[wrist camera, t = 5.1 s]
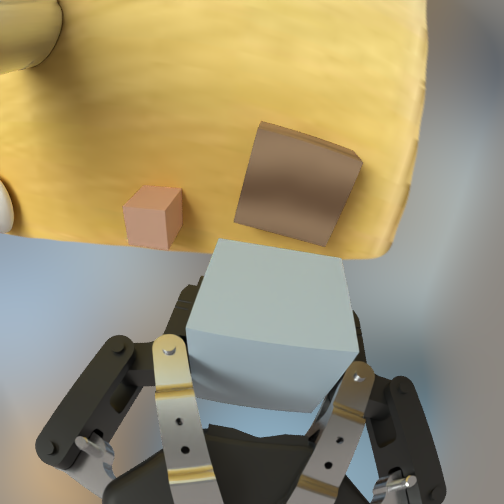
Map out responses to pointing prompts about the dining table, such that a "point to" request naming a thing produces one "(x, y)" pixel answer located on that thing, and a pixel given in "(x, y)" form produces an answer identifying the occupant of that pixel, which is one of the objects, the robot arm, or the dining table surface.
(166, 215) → the terracotta block
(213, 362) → the slate block
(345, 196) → the walnut base block
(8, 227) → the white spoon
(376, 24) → the dining table surface
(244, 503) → the robot arm
